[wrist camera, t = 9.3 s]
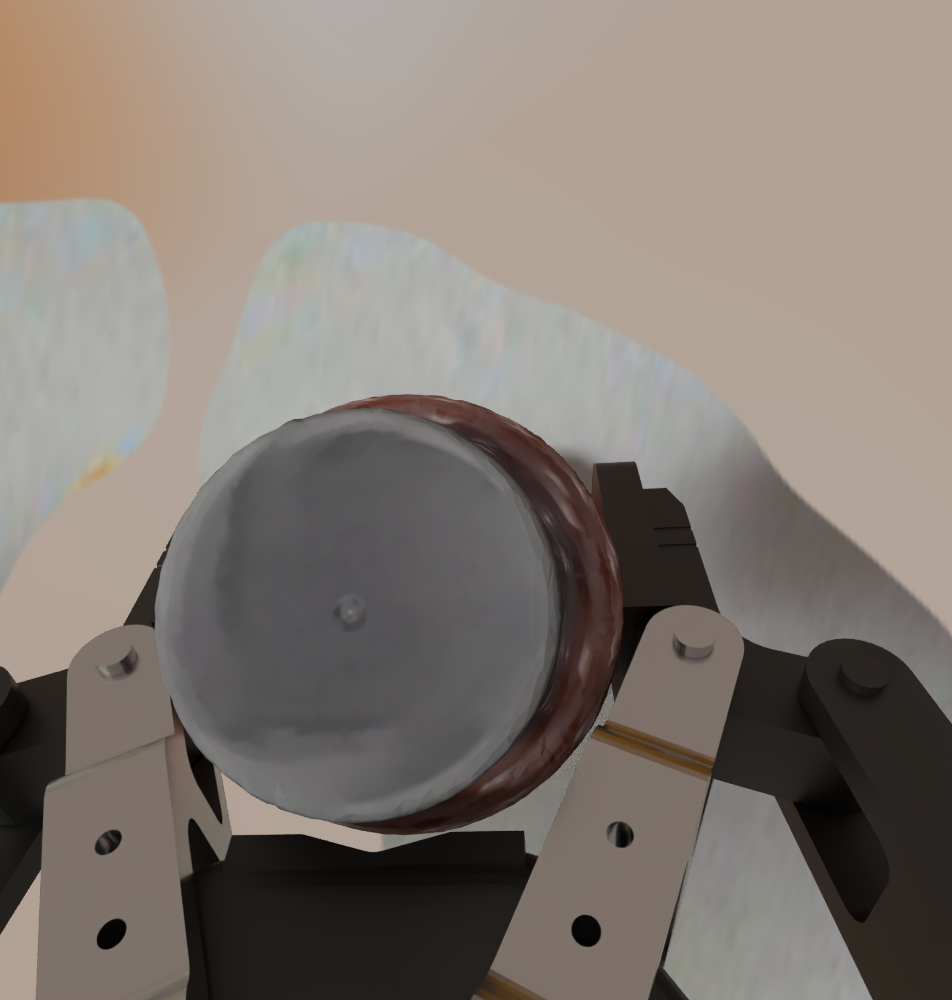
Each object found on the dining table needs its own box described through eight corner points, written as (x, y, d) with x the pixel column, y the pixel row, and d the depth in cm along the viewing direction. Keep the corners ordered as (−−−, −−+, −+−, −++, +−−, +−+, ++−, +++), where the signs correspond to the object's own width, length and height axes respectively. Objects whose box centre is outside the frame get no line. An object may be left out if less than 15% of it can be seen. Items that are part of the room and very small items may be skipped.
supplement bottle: (618, 672, 17) (785, 818, 6) (391, 760, 18) (154, 1060, 6) (526, 448, 18) (529, 222, 7) (310, 533, 18) (-24, 445, 7)
